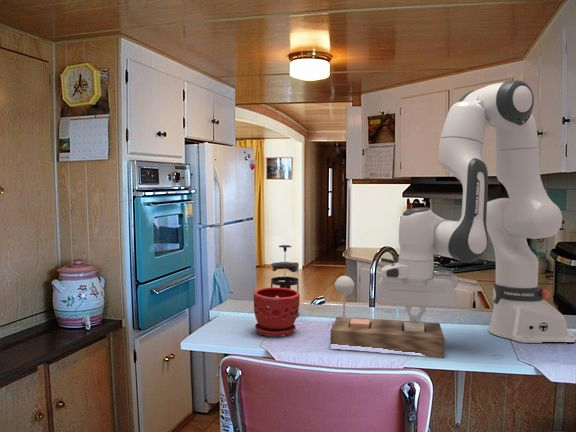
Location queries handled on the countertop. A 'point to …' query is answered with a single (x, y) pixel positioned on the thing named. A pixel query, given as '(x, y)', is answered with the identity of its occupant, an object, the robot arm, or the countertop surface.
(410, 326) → the cream key
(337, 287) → the lollipop
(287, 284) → the french press
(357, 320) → the terracotta key
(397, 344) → the brown flat block
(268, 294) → the plant pot
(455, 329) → the countertop surface
